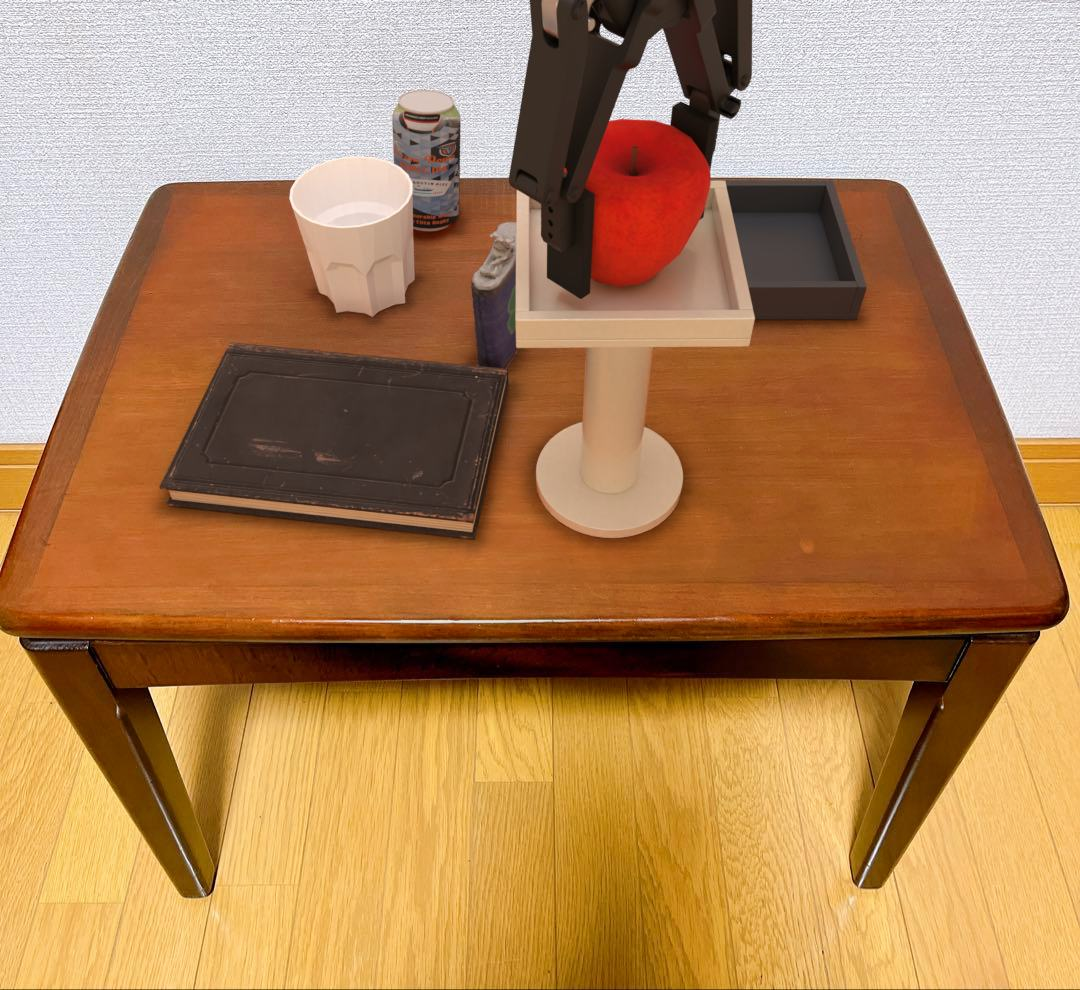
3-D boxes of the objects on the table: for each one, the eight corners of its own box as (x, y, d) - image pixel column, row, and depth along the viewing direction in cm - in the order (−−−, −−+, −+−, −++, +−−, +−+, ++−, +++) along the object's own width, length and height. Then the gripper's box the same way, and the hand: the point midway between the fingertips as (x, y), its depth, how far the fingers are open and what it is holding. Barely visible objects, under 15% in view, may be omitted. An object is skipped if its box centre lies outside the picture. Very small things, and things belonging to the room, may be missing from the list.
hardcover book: (474, 540, 73) (473, 520, 71) (167, 506, 75) (158, 486, 73) (509, 384, 83) (508, 364, 81) (237, 358, 85) (231, 337, 83)
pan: (824, 212, 98) (833, 180, 95) (856, 319, 88) (867, 286, 85) (663, 212, 98) (666, 180, 95) (677, 319, 88) (681, 287, 85)
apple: (704, 315, 58) (723, 198, 52) (550, 313, 58) (551, 195, 52) (692, 221, 64) (708, 105, 58) (552, 220, 64) (553, 104, 58)
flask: (502, 303, 89) (499, 198, 81) (534, 308, 89) (534, 204, 81) (472, 373, 84) (465, 269, 75) (506, 380, 83) (503, 276, 75)
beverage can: (388, 236, 95) (372, 118, 86) (413, 192, 100) (400, 76, 91) (452, 246, 95) (442, 128, 85) (474, 201, 99) (467, 84, 90)
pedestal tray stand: (687, 416, 81) (725, 180, 64) (706, 550, 72) (755, 318, 56) (521, 417, 80) (516, 181, 64) (521, 551, 72) (515, 319, 56)
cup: (406, 329, 87) (394, 233, 79) (295, 316, 88) (272, 220, 81) (435, 258, 93) (425, 163, 86) (330, 246, 94) (312, 151, 87)
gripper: (752, -267, 49) (697, 148, 66) (404, -148, 39) (445, 303, 57) (885, -232, 46) (790, 195, 63) (541, -92, 36) (540, 369, 53)
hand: (627, 246), depth 60 cm, fingers open, 9 cm apart
